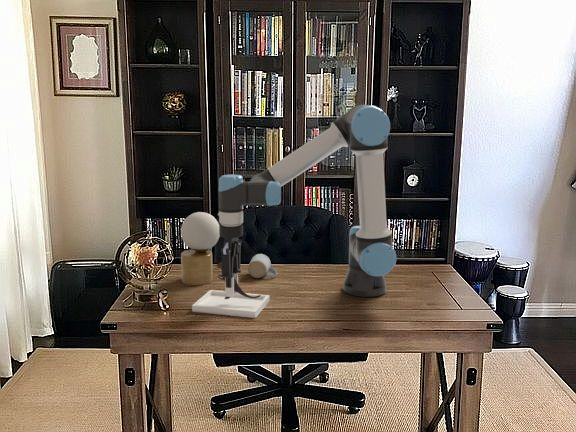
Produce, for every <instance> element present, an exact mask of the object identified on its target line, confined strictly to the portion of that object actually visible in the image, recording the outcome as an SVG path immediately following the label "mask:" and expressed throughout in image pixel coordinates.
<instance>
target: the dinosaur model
mask: <svg viewBox="0 0 576 432" xmlns="http://www.w3.org/2000/svg"><path fill="white" fill-rule="evenodd" d="M216 268H218V269H220V270H221V271H222V261H221V262H219V263H217V264H216ZM217 278H218V279H219V280H220V281H221V280H222V281H224V282H225V277H222V274H218V275H217ZM234 291H236V292H238V293H239V294H241V295H243V296H244V297H248V298H252V299H253V298H257V297H260V296H261V295H262V294H260V295H259V296H255V297H252V296H249V295H247V294H245V293H246V292H244V290H243V289H242V288H241V287H240V285H239V282H238V283H237V281H236V280H235V278H234ZM229 298H230V297H225V299H229Z"/></svg>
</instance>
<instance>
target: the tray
mask: <svg viewBox="0 0 576 432" xmlns="http://www.w3.org/2000/svg"><path fill="white" fill-rule="evenodd" d="M244 293H245V294H247V295H249V296H252V297H255V296H259V295H261V296H260V297H257V298H253V299H252V298H248V297H244V296H243V295H241V294H239V293H234V297H230V298H229V299H225V290H217V289H210V290H208V291H207V292H206V293H205V294H203V296H201V297H200V298H199V299H198V300H197V301H195V302H194V303H192V305H191V312H193V313H202V314H203V313H205V314H213V315H222V316H223V315H224V316H230V317H231V316H232V317H242V318H253V319H256V318H257V317H258V315H259V314H260V313H261V312H262V311H263V310H264V308H266V306H267V305H268V304H269V302H270V296H271V295H269V294H259V293H249V292H248V293H247V292H244Z"/></svg>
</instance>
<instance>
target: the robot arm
mask: <svg viewBox="0 0 576 432" xmlns="http://www.w3.org/2000/svg"><path fill="white" fill-rule="evenodd" d="M390 131H391V122H390V119H389V116H388V115H387V113H386V112H385V111H384V110H383V109H382V108H380V107H378V106H377V105H372V104H371V105H369V104H357V105H354V106H352V107H351V108H349V109H348V110H347V111H345V113H343V114H342V115H340V117H338V118H337V119H335V120H334V121H332V122H331V123H330V127H329V128H327V129H326V130H324V131H323V132H321V133H319V134H318V135H316V136H315V137H314V138H312V139H310V140H309V141H307V142H306V143H304V144H303V145H302V146H300V147H299V148H297V149H295V150H294V151H293V152H291V153H289V154H288V155H286V156H285V157H282V159H281V160H279V161H277V162H276V163H275V164H273V165H271V166H270V167H269V168H267V169H266V170H264V171H262V172H260V173H257V174H254V175H253V176H252V177H251V178H250V180H249V181H245V180H244V179H243V176H242V175H241V174H224V175H221V176H220V177H219V178H218V213H217V216H218V217H219V219H218V220H219V221H218V224H219V235H220V236H219V237H221V238H222V239H224V242H223V247H220V254H221V255H220V256H221V262H222V270H221V275H222V277H221V278H223V277H225V281H224V289H225V290H224V291H225V297H234V293H238V292H236V291H234V278H235V280H236V281H237V283H238V284H239V274H241V256H242V254H241V253H242V251H241V247H242V239H239V238H241V237H243V236H244V224H243V223H244V206H268V207H270V206H271V207H272V206H278V205H281V202H282V187H283V186H284V185H287V183H290V182H291V181H292V180H294V179H295V178H297V177H298V176H301V174H303V173H304V172H306V171H307V170H309V169H310V168H312V167H314V166H315V165H317V164H318V163H320V162H322V161H323V160H325V159H326V158H328V156H331V155H332V154H333V153H335V152H337V151H338V150H340V149H341V148H343V147H345V148H348V147H349V146H350V152H352V153H353V154H354V155H355V165H356V179H357V181H356V183H357V184H356V185H357V199H358V213H359V214H358V215H359V217H358V218H359V225H354V226H351V228H350V229H349V235H348V238H349V239H348V241H349V244H348V269H347V271H346V274H345V277H344V280H343V282H342V290H343V292H345V293H346V294H348V295H351V296H355V297H364V298H365V297H367V298H368V297H371V298H372V297H378V296H383V295H384V294H386V293H387V283H386V279H385V275H387V274H388V273H390V272H391V271H393V269H394V267H395V266H396V263H397V253H396V251H395V249H394V248H393V247H394V245H393V232H392V230H391V229H389V228H388V227H387V226H388V225H387V206H386V205H387V204H386V202H387V201H386V185H385V184H386V183H385V166H384V165H385V162H384V153H385V152H386V151H387V150H388V148H389V146H388V143H389V142H388V141H389V140H388V137H389V135H390Z"/></svg>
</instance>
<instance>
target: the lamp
mask: <svg viewBox="0 0 576 432" xmlns="http://www.w3.org/2000/svg"><path fill="white" fill-rule="evenodd" d="M219 225H220V223H219V221H218V220H217V219H216V218H215V216H213V215H212V214H210V213H208V212H202V211H197V212H193V213H191V214H190V215H188V216H187V217H186V218H185V219H184V220H183V222H182V224H181V227H180V237H181V239H182V241H183V243H184V245H186V246H187V247H188V248H189V249H187V250H184V251H182V252H181V253H180V263H181V265H180V268H181V269H180V271H181V282H182V283H183V284H185V285H187V286H203V285H208V284H210V283H212V282H213V275H214V273H213V270H214V269H213V252H212V251H211V249H212V248H213V247H214V246H215V245H216V244H217V243H218V242H219V238H220V237H221V236H220V235H219Z"/></svg>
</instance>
